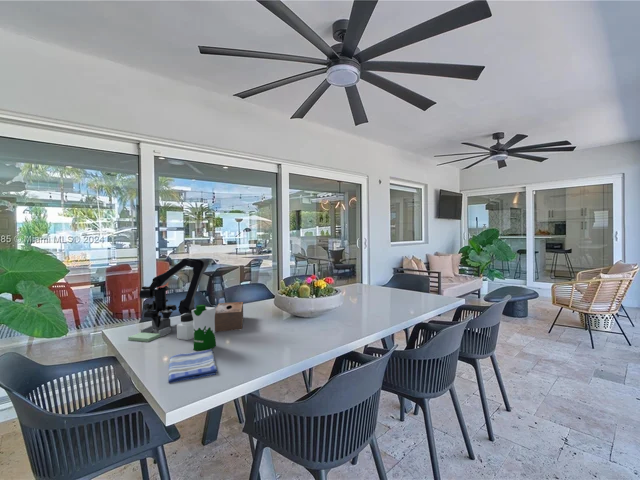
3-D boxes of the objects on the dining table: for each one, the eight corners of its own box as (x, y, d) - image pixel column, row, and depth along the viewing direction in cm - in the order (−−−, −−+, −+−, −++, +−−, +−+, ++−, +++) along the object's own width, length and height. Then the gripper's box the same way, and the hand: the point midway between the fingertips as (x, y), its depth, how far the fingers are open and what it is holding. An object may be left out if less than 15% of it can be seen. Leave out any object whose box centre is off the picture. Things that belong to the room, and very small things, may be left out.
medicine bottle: (198, 336, 164) (197, 312, 163) (187, 340, 157) (186, 316, 157) (188, 334, 167) (187, 311, 166) (176, 338, 160) (176, 315, 160)
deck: (170, 332, 171) (170, 326, 171) (148, 341, 156) (148, 335, 156) (151, 331, 174) (151, 325, 174) (127, 340, 160) (127, 334, 160)
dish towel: (213, 354, 140) (213, 347, 140) (218, 375, 119) (218, 368, 118) (169, 360, 134) (169, 354, 133) (166, 385, 112) (166, 377, 112)
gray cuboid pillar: (170, 327, 181) (170, 318, 181) (163, 329, 176) (163, 320, 176) (159, 326, 183) (158, 317, 183) (152, 328, 178) (151, 319, 178)
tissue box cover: (219, 319, 196) (218, 303, 196) (243, 317, 199) (242, 301, 199) (213, 332, 171) (213, 313, 170) (241, 330, 174) (241, 311, 173)
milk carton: (190, 350, 144) (189, 306, 143) (203, 343, 152) (202, 301, 152) (206, 352, 141) (205, 307, 140) (219, 345, 149) (218, 302, 149)
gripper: (161, 294, 190) (161, 320, 191) (135, 301, 172) (136, 330, 173) (176, 295, 187) (177, 321, 188) (152, 302, 169) (153, 331, 170)
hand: (161, 326), depth 180 cm, fingers closed on gray cuboid pillar, 5 cm apart
